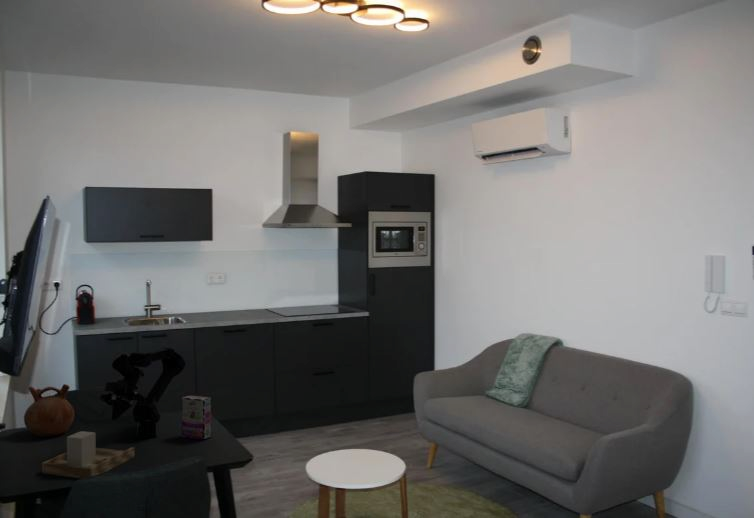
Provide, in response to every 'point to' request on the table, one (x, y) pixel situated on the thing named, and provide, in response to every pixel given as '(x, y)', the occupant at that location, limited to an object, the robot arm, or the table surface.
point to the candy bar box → (196, 417)
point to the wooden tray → (103, 463)
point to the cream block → (81, 449)
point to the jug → (49, 413)
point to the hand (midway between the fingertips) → (113, 419)
